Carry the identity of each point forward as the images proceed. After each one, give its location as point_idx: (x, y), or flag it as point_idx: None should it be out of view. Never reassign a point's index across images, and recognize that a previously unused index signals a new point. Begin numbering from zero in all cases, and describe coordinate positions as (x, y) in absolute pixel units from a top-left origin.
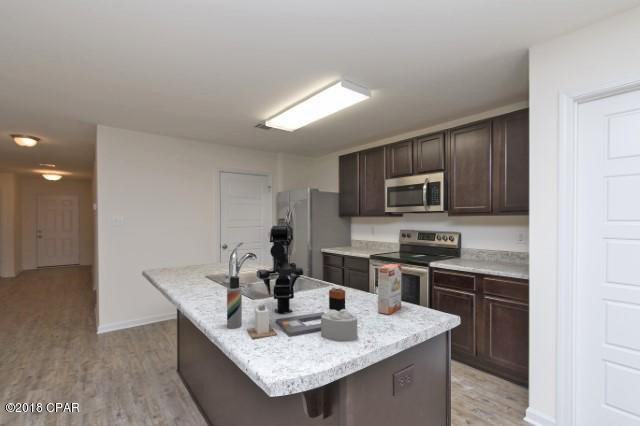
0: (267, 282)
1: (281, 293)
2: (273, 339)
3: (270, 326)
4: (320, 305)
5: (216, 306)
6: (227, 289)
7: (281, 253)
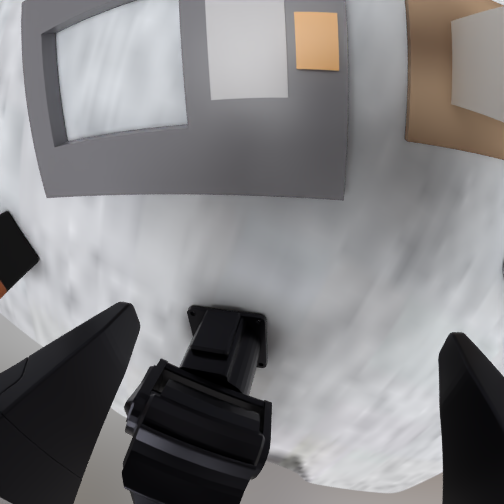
0: None
1: (220, 410)
2: None
3: (410, 114)
4: (69, 312)
5: (426, 446)
6: None
7: None
